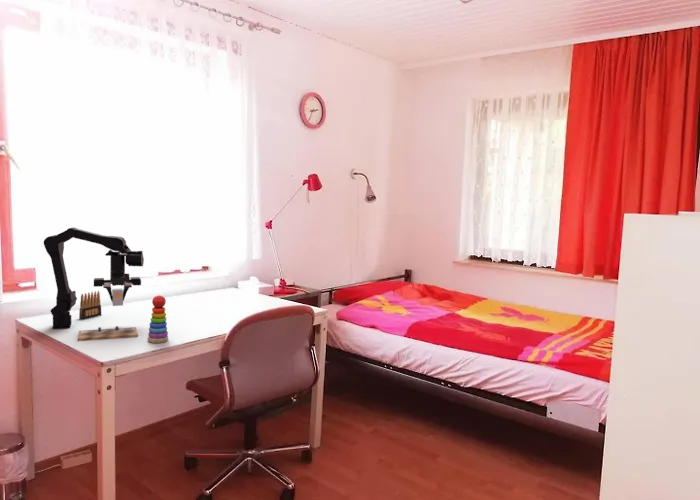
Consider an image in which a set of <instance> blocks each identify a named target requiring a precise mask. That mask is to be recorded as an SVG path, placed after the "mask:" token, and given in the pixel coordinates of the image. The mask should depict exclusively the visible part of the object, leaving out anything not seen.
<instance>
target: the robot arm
mask: <svg viewBox="0 0 700 500" xmlns="http://www.w3.org/2000/svg"><path fill="white" fill-rule="evenodd" d="M71 239H77V240H82V241H85V242H90V243H94V244H98V245H100V246H103V247H105V248H107V249H109V250H108V252H106V253H105V256H109V257H110V260H109V261H110V262H109V263H110V270H109V271H110V273H109V274H110V279H105V278H104V277H95V278H94V279H93V287H103V289H106V291H107V293H108V295H109V299H110V301H111V302H113V298H112V286H113V287H115V286H123V288H122V289H123V302H124V301H125V298H126V295H127V293H128V291H129V289H130V288H133V286H142V279H141V277H137V276H136V277H135V276H132V277H131V276H130V273H126V265H128V267H143V266H144V261H145V257H144V254H143V251H142V250H131V249H130V247H129V246H128V245H127V241H126V240H125V238H124V237H122V236H119V235H117V236H115V235H104V234H99V233H95V232H92V231H88V230H84V229H79V228H77V227H73V226H72V227H68V228H67V229H66V230H64V231H62V232H60V233H58V234H54V235H50V236H47V237H46V238H44V240H43V246H44V249H45V250H46V253H47V255H48V256H49V257H50V261H51V264H52V269H53V270H52V271H53V274H54V279H55V284H56V289H57V292H56V305H55V306H54V307H52V308H51V309H50V313H51V315H52V327H51V328H52V330H53V329H54V330H55V329H57V330H58V329H68V328H69V329H70V328H71V325H72V314H71V312H70V311H71V310H72V308H73V307H74V306H75V305H76V304H77V303H76V302H77V300H78V297H77V295H76V293H77V292H76V290H72V289H71V287H70V284H69V279H68V275H67V269H66V266H65V265H66V264H65V260H64V249H65V243H66V242H68V241H70V240H71ZM111 285H112V286H111Z"/></svg>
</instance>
